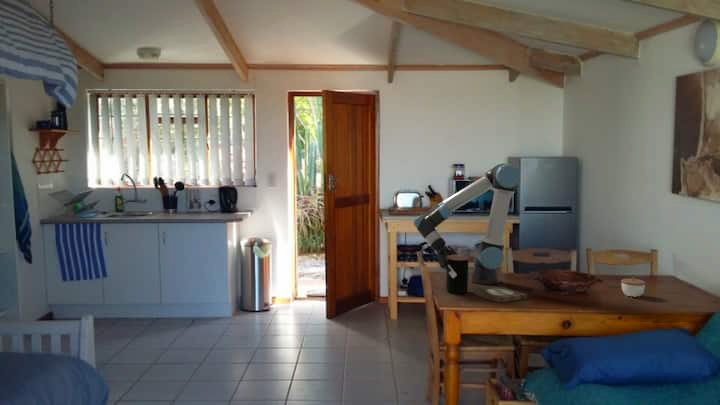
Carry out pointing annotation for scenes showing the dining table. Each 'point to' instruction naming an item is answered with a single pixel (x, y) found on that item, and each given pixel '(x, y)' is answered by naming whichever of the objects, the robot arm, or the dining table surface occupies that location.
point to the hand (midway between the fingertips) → (461, 274)
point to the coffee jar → (461, 269)
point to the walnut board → (500, 294)
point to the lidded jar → (633, 287)
